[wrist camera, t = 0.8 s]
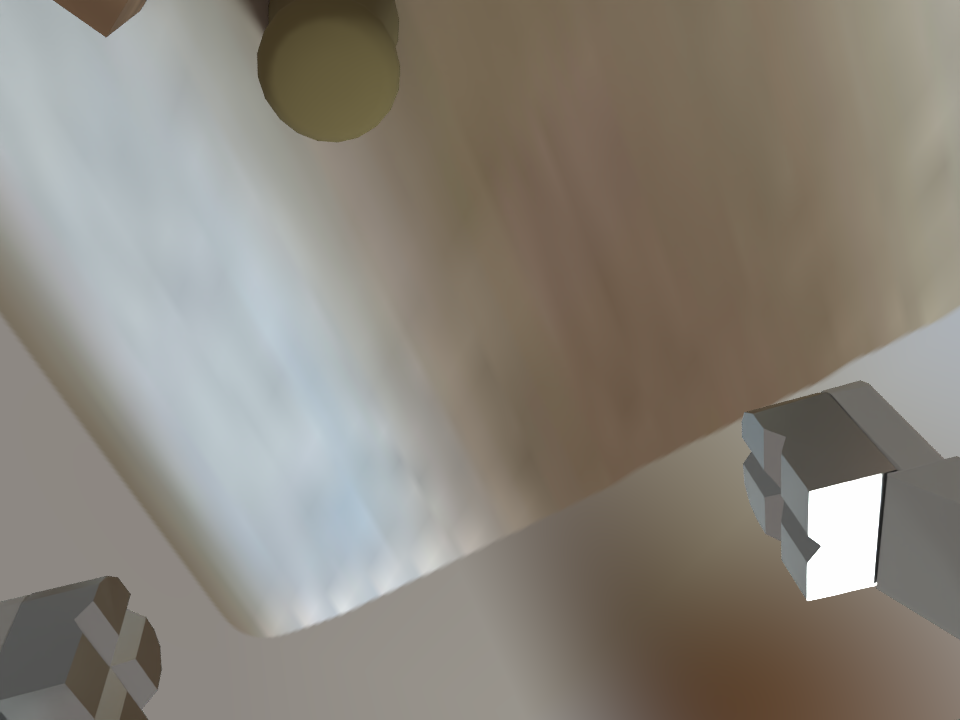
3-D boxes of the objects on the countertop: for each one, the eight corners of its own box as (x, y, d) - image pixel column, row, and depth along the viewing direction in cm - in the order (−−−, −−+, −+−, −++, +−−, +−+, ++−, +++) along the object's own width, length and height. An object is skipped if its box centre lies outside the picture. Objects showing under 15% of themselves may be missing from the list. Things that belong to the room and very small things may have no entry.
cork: (239, 13, 37) (202, 69, 28) (337, -80, 35) (331, -54, 26) (331, 115, 40) (326, 196, 31) (425, 33, 38) (448, 92, 29)
